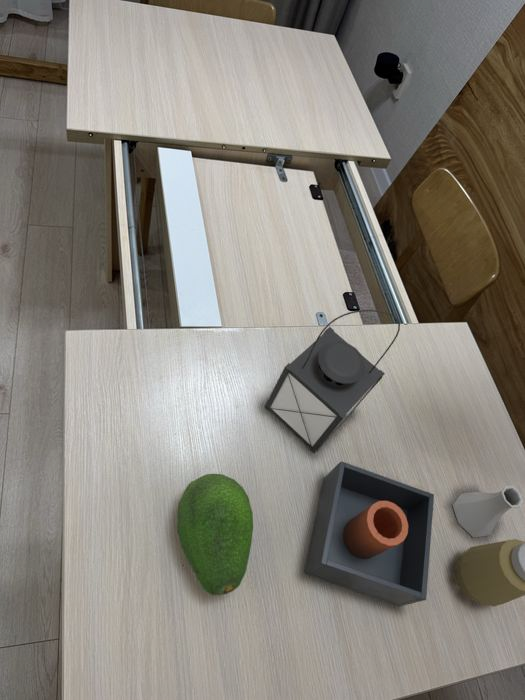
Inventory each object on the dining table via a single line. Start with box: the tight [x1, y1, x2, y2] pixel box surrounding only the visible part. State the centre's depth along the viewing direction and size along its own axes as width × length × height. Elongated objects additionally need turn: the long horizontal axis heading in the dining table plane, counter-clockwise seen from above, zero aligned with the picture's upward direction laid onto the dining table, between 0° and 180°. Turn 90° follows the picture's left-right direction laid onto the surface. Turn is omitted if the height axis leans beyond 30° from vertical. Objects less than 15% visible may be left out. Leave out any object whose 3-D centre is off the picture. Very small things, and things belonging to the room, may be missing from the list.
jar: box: [343, 501, 408, 559], centre depth 71 cm, size 6×6×9 cm
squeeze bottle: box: [454, 538, 525, 607], centre depth 68 cm, size 8×8×18 cm
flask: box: [452, 485, 524, 538], centre depth 77 cm, size 7×7×10 cm
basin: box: [303, 460, 435, 607], centre depth 72 cm, size 14×14×8 cm
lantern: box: [264, 309, 401, 454], centre depth 74 cm, size 11×11×28 cm
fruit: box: [176, 473, 254, 596], centre depth 66 cm, size 15×10×10 cm, turn 6°
